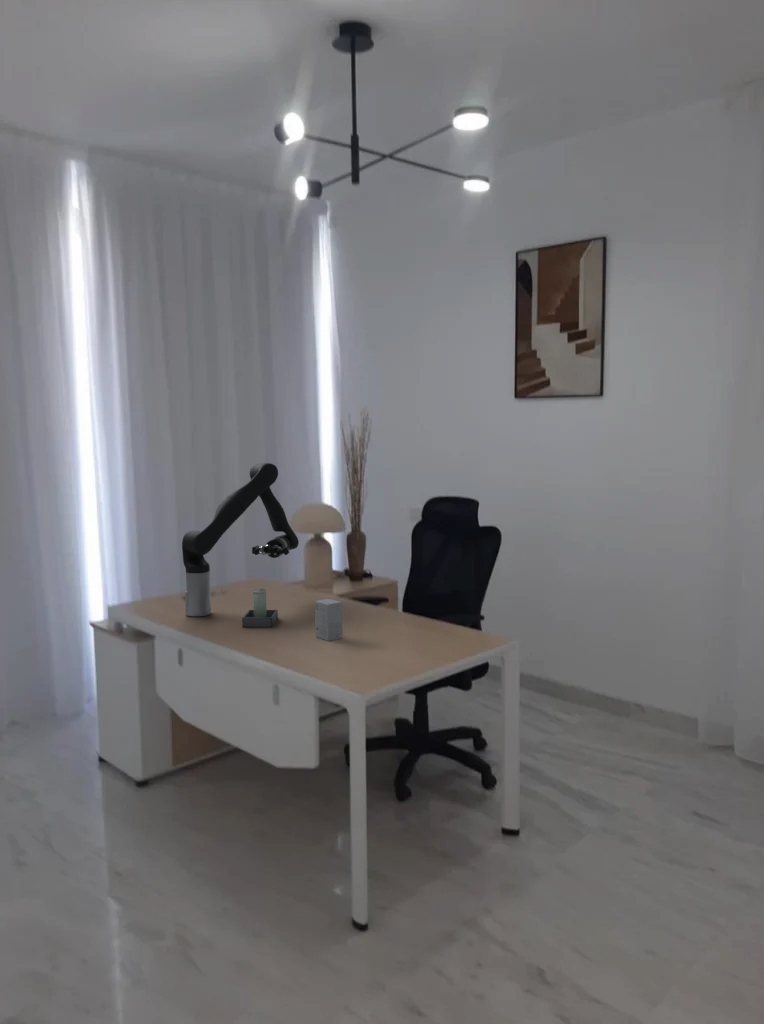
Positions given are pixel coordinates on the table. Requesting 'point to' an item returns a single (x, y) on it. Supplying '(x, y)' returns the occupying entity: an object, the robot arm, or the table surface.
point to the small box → (328, 619)
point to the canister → (259, 603)
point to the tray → (259, 619)
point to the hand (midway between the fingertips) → (266, 552)
